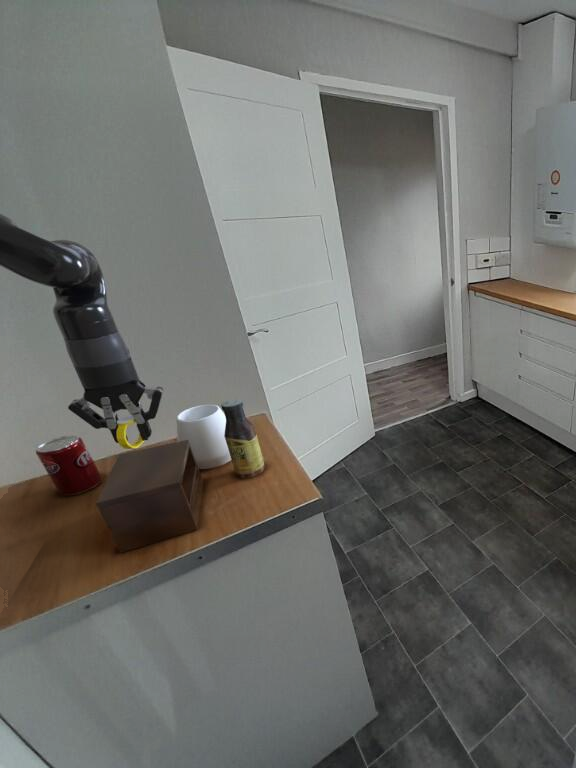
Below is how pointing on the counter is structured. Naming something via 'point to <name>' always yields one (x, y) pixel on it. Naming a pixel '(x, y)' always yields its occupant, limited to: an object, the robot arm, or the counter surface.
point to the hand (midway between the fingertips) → (135, 440)
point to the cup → (204, 435)
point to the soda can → (69, 465)
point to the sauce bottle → (242, 440)
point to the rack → (152, 495)
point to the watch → (122, 433)
